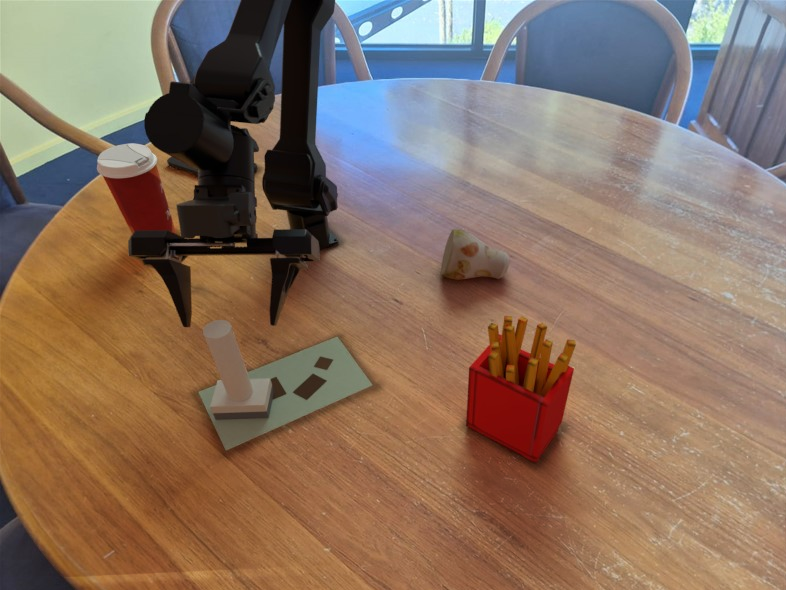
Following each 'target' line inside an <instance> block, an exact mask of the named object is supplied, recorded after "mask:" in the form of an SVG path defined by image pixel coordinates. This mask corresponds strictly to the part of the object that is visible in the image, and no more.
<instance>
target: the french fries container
mask: <svg viewBox="0 0 786 590" xmlns="http://www.w3.org/2000/svg"><path fill="white" fill-rule="evenodd" d="M528 321H529V318H526V317H524V316H520V317H518V319H517V323H516V328H515V326H514V325H513V316H512V315H504V317H503V323H502V330H501V334H500V333H499V324H497V323H494V322H491V323H490V324H489V325H488V326H487V332H488V341H489V344H488V346H486V348H485V349H484V350H483V351H482V352H481V353H480V354H479V356H478V357H477V358H476V359H475V360H474V361H473V362H472V363H471V364H470V366H469V367H468V383H467V401H466V403H467V405H466V421H465V422H466V423H465V426H466V427H467V428H468V429H471V430H473V431H475V432H476V433H478V434H480V435H482V436H484V437H486V438H488V439H489V440H492V441H493V442H495V443H498V444H499V445H501V446H502V447H505V448H506V449H508V450H510V451H512V452H514V453H515V454H518V455H520V456H522V457H524V458H525V459H527V460H529V461H531V462H533V463H535V464H537V463H538V461H539V460H540V458H541V457H542V455H544V454H543V453H544V452H545V451H546V449H547V448H548V446H549V445H550V444H551V442H552V440H553V439H554V437H555V436H556V434H557V433H558V431H559V427H560V426H561V425H562V423H563V419H564V415H565V411H566V406H567V401H568V396H569V393H570V388H571V383H572V379H573V375H574V371H575V368H574V367H572V366H571V365H570V362H571V359H572V357H573V354H574V351H575V349H576V346H577V343H576V340H575V339H568V338H567V339H566V341H565V343H564V344H565V345H564V347H563V350H562V352H561V353H560V354H559V355H558V357H557V358H556V360H555V362H554V363H551V362H550V360H551V355H552V350H553V349H552V348H553V341H552V340H549V339H547V338H546V335H547V331H548V325H546V324H545V323H543V322H541V323H538V324H537V325H536V328H535V332H534V337H533V341H532V345H531V349H530V352H528V351H526V350H524V349H522V346H523V342H524V338H525V333H526V330H527V326H528ZM545 338H546V339H545Z"/></svg>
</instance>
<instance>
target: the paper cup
mask: <svg viewBox="0 0 786 590" xmlns="http://www.w3.org/2000/svg"><path fill="white" fill-rule="evenodd" d="M96 162H97V165H96V171H97V172H98V174H100V175H101V176H102V177H103V179H104V182H105V184H106V185H107V187H108V189H109V192H110V193H111V195H112V197H113V199H114V201H115V203H116V205H117V207H118V209H119V212H120V213H121V215H122V217H123V219H124V221H125V222H126V225H127V226H128V228H129V230H130V232H131V235H132V234H133V233H134V231H135V230H169V231H171V232H173V233H175V234H177V232H176V228H175V224H174V221H173V217H172V214H171V209H170V207H169V203H168V200H167V196H166V193H165V189H164V186H163V182H162V179H161V175H160V172H159V169H158V165H157V163H158V157H157V156H156V154H155V153H153V152H152V150H151V149H150V148H149V147H148V146H147V145H144V144H140V143H134V142H133V143H132V142H131V143H123V144H118V145H117V144H116V145H114V146H111V147H109V148H107V149H105V150H102V152H100V154H99V155H98V157H97V160H96Z"/></svg>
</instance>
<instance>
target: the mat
mask: <svg viewBox="0 0 786 590" xmlns="http://www.w3.org/2000/svg"><path fill="white" fill-rule="evenodd" d="M247 372H248V375H249V378H250V379H267V378H270V380H271V383H272V387H273V390H274V395H273V400H272V405H271V409H270V414H269V418H250V419H221V420H216V419H215V417H214V415H213V413H212V410H211V408H210V405H211V401H212V398H213V394H214V391H215V387H216V384H215V385H212V386H210V387H207V388H204V389H202V390H199V391H198V396H199V397H200V399H201V401H202V403H203V405H204V407H205V410H206V412H207V413H208V416H209V418H210V420H211V423H212V425H213V427H214V428H215V430H216V433H217V435H218V437H219V439H220V442H221V443H222V445H223V448H224V450H225V451H229V450H231V449H233V448H236V447H238V446H240V445H243V444H244V443H246V442H249V441H250V440H253V439H255V438H258V437H261V436H262V435H265V434H266V433H269V432H271V431H273V430H275V429H278V428H280V427H282V426H284V425H287V424H289V423H291V422H293V421H295V420H298V419H300V418H303V417H304V416H307V415H309V414H311V413H314V412H316V411H318V410H320V409H323V408H325V407H327V406H329V405H331V404H335V403H336V402H338V401H341V400H343V399H345V398H347V397H350V396H352V395H355V394H356V393H359V392H361V391H363V390H366V389H368V388H370V387H372V386H373V384H372V382H371V381H370V379H369V378H368V376H367V375H366V374H365V372H364V371H363V370H362V369H361V367H360V365H359V364H358V363H357V362H356V360H355V359H354V357H353V356H352V354H351V353H350V352H349V350H348V349H347V348H346V346H345V345H344V344H343V342H342V341H341V339H340V338H339V337H338V336H334V337H333V338H330V339H327V340H325V341H323V342H320V343H317V344H315V345H312V346H310V347H308V348H305V349H302V350H299V351H297V352H295V353H293V354H290V355H287V356H284V357H282V358H280V359H278V360H274V361H272V362H269V363H267V364H265V365H262V366H260V367H257V368H255V369H252V370H250V371H247Z"/></svg>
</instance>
